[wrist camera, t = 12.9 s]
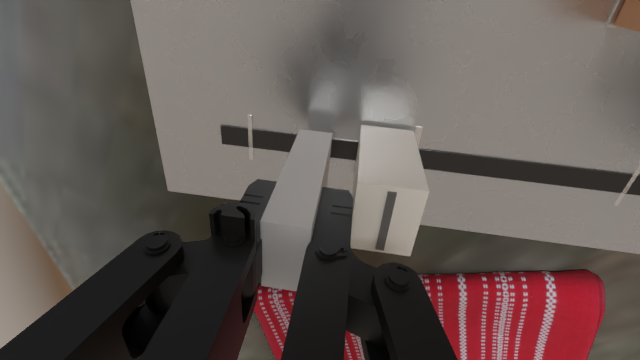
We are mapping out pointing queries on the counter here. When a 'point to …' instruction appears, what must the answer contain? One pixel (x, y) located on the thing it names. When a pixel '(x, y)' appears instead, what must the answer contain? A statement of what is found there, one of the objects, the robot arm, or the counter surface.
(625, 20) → the fader terracotta
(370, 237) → the fader cream
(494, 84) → the console
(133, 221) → the counter surface
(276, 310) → the dish towel
